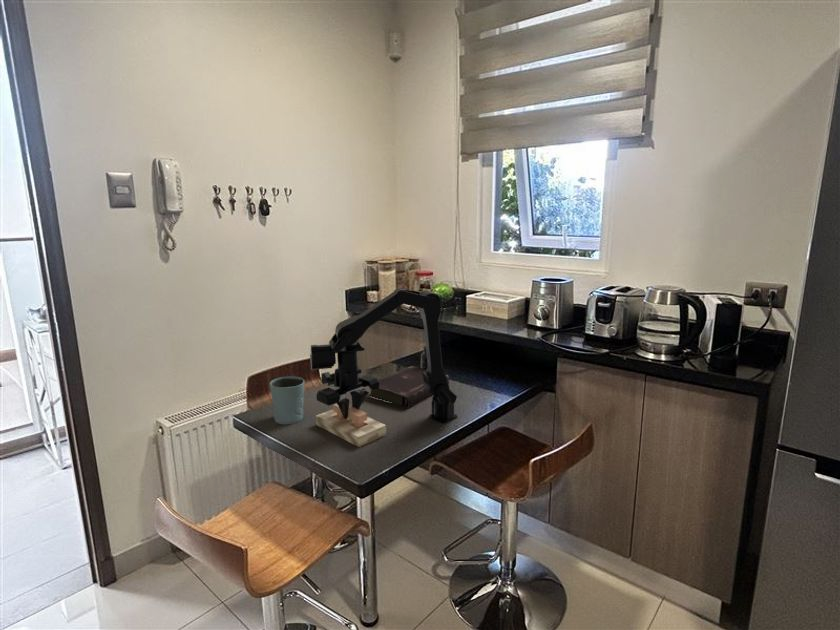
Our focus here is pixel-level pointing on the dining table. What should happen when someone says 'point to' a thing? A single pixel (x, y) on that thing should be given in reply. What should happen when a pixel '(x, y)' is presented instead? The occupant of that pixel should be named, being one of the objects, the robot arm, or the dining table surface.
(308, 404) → the dining table surface
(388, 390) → the diary
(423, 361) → the supplement bottle
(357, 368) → the robot arm
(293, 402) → the teal cup
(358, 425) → the pink rectangular block
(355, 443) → the cream two-hole slab
